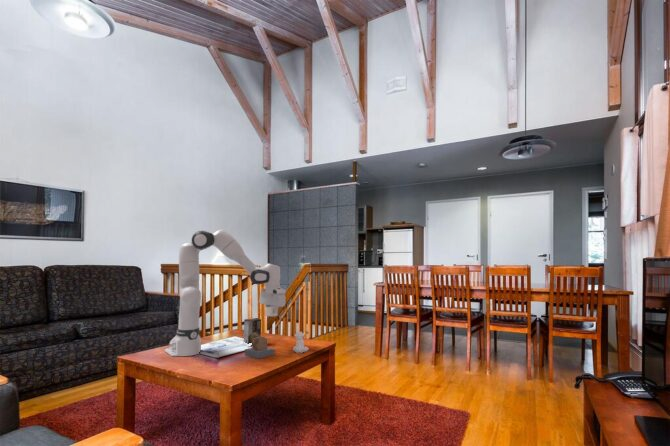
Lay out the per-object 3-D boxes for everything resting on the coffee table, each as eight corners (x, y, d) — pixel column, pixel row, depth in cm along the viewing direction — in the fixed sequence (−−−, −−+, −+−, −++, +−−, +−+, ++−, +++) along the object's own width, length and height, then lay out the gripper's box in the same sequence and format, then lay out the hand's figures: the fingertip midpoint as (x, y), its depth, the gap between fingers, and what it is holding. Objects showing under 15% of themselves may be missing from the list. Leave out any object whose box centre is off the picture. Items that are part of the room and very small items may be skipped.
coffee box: (256, 342, 242) (256, 317, 243) (260, 344, 237) (261, 319, 239) (243, 345, 236) (243, 319, 238) (247, 347, 232) (248, 320, 233)
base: (244, 354, 214) (244, 349, 215) (261, 350, 224) (261, 345, 224) (258, 358, 207) (258, 352, 207) (274, 354, 216) (274, 348, 216)
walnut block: (252, 348, 215) (252, 338, 215) (260, 346, 220) (260, 336, 220) (258, 350, 211) (259, 340, 212) (267, 348, 216) (267, 338, 216)
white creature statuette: (308, 350, 226) (309, 330, 227) (307, 354, 218) (307, 333, 219) (293, 350, 227) (293, 329, 227) (291, 353, 218) (291, 332, 219)
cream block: (265, 315, 227) (266, 307, 227) (272, 314, 231) (272, 306, 231) (271, 316, 224) (271, 308, 224) (277, 315, 227) (277, 307, 228)
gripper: (257, 288, 232) (256, 311, 231) (279, 291, 219) (278, 315, 218) (265, 288, 237) (264, 310, 236) (287, 290, 224) (286, 314, 223)
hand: (271, 312), depth 227 cm, fingers closed on cream block, 5 cm apart
